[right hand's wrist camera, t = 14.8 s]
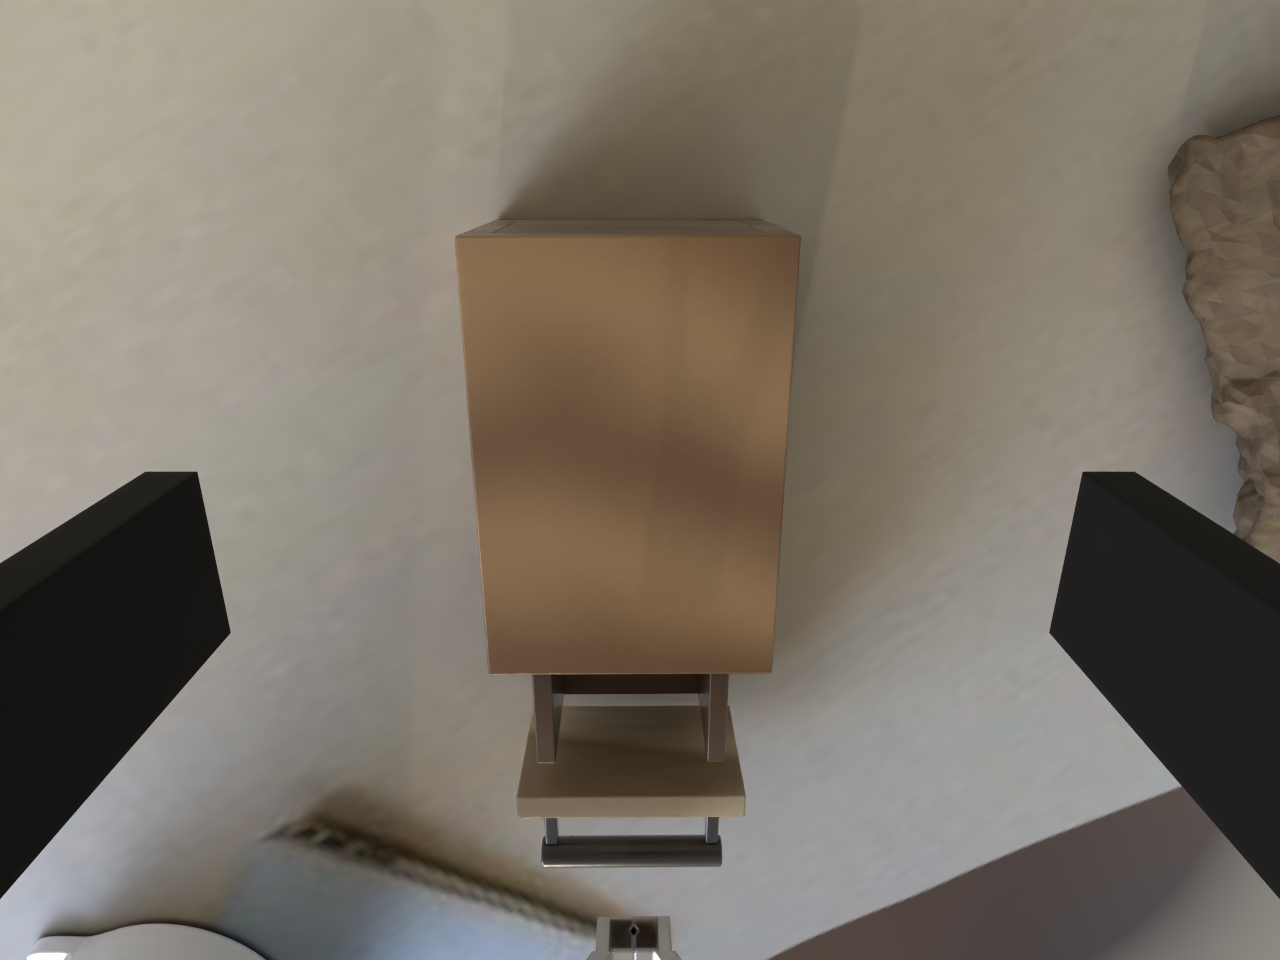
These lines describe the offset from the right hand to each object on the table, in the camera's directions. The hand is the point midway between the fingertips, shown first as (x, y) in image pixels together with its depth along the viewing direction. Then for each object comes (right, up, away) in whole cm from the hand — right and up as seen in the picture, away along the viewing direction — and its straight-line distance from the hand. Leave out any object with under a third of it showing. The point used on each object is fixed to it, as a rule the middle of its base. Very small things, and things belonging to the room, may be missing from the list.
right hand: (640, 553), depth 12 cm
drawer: (0, -7, +28) cm, 29 cm away
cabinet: (0, +4, +25) cm, 26 cm away
